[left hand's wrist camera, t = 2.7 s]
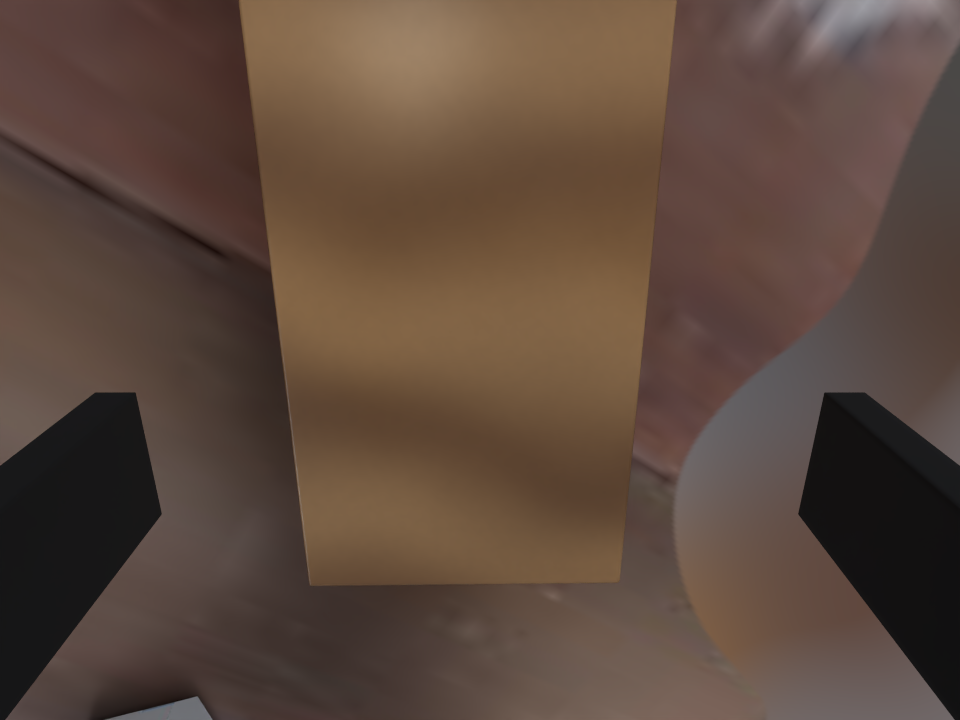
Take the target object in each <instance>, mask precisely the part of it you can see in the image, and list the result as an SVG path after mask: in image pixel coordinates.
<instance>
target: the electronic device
mask: <svg viewBox="0 0 960 720" xmlns="http://www.w3.org/2000/svg"><path fill="white" fill-rule="evenodd" d="M105 720H212V718H211V717H210V715H209V714H208V712H207V710H206V709H205V707H204V706H203V704H202V703H201V701H200V699H199V698H198V696H197V697H193V698H189V699H185V700H181V701H177V702H173V703H169V704H165V705H161V706H157V707H153V708H149V709H145V710H141V711H137V712H133V713H129V714H125V715H121V716H117V717H113V718H109V719H105Z"/></svg>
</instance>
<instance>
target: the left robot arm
mask: <svg viewBox="0 0 960 720" xmlns="http://www.w3.org/2000/svg"><path fill="white" fill-rule="evenodd" d="M161 514H162V513H161V508H160V504H159V499H158V495H157V490H156V485H155V481H154V476H153V471H152V467H151V462H150V458H149V453H148V448H147V444H146V439H145V434H144V430H143V425H142V420H141V416H140V411H139V407H138V402H137V397H136V393H94V394H93V395H92V396H90V397H89V398H88V399H86V400H85V401H84V402H82V403H81V404H80V405H79V406H77V407H76V408H75V409H73V410H72V411H71V412H69V413H68V414H67V415H66V416H64V417H63V418H62V419H60V420H59V421H58V422H57V423H55V424H54V425H53V426H51V427H50V428H49V429H47V430H46V431H45V432H44V433H42V434H41V435H40V436H38V437H37V438H36V439H34V440H33V441H32V442H31V443H29V444H28V445H27V446H25V447H24V448H23V449H21V450H20V451H19V452H18V453H16V454H15V455H14V456H12V457H11V458H10V459H8V460H7V461H6V462H5V463H3V464H2V465H1V466H0V720H5V719H6V718H7V717H8V715H9V714H10V713H11V711H12V710H13V709H14V708H15V706H16V705H17V704H18V702H19V701H20V700H21V698H22V697H23V696H24V694H25V693H26V692H27V690H28V689H29V688H30V687H31V685H32V684H33V683H34V681H35V680H36V679H37V677H38V676H39V675H40V673H41V672H42V671H43V669H44V668H45V667H46V666H47V664H48V663H49V662H50V660H51V659H52V658H53V656H54V655H55V654H56V652H57V651H58V650H59V648H60V647H61V646H62V644H63V643H64V642H65V641H66V639H67V638H68V637H69V635H70V634H71V633H72V631H73V630H74V629H75V627H76V626H77V625H78V623H79V622H80V621H81V620H82V618H83V617H84V616H85V614H86V613H87V612H88V610H89V609H90V608H91V606H92V605H93V604H94V602H95V601H96V600H97V599H98V597H99V596H100V595H101V593H102V592H103V591H104V589H105V588H106V587H107V585H108V584H109V583H110V581H111V580H112V579H113V578H114V576H115V575H116V574H117V572H118V571H119V570H120V568H121V567H122V566H123V564H124V563H125V562H126V560H127V559H128V558H129V556H130V555H131V554H132V553H133V551H134V550H135V549H136V547H137V546H138V545H139V543H140V542H141V541H142V539H143V538H144V537H145V535H146V534H147V533H148V532H149V530H150V529H151V528H152V526H153V525H154V524H155V522H156V521H157V520H158V518H159V517H160V516H161ZM798 514H799V516H800V517H801V518H802V520H803V521H804V522H805V524H806V525H807V526H808V528H809V529H810V530H811V532H812V533H813V534H814V535H815V537H816V538H817V539H818V541H819V542H820V543H821V545H822V546H823V547H824V549H825V550H826V551H827V553H828V554H829V555H830V556H831V558H832V559H833V560H834V562H835V563H836V564H837V566H838V567H839V568H840V570H841V571H842V572H843V574H844V575H845V576H846V578H847V579H848V580H849V581H850V583H851V584H852V585H853V587H854V588H855V589H856V591H857V592H858V593H859V595H860V596H861V597H862V599H863V600H864V601H865V602H866V604H867V605H868V606H869V608H870V609H871V610H872V612H873V613H874V614H875V616H876V617H877V618H878V620H879V621H880V622H881V623H882V625H883V626H884V627H885V629H886V630H887V631H888V633H889V634H890V635H891V637H892V638H893V639H894V641H895V642H896V643H897V644H898V646H899V647H900V648H901V650H902V651H903V652H904V654H905V655H906V656H907V658H908V659H909V660H910V662H911V663H912V664H913V666H914V667H915V668H916V669H917V671H918V672H919V673H920V675H921V676H922V677H923V678H924V680H925V681H926V683H927V684H928V685H929V687H930V688H931V689H932V690H933V692H934V693H935V694H936V696H937V697H938V698H939V700H940V701H941V702H942V704H943V705H944V706H945V707H946V709H947V710H948V711H949V713H950V714H951V715H952V717H953V718H954V719H955V720H960V466H959V465H958V464H957V463H955V462H954V461H953V460H952V459H950V458H949V457H948V456H946V455H945V454H944V453H942V452H941V451H940V450H939V449H937V448H936V447H935V446H933V445H932V444H931V443H929V442H928V441H927V440H926V439H924V438H923V437H922V436H920V435H919V434H918V433H916V432H915V431H914V430H913V429H911V428H910V427H909V426H907V425H906V424H905V423H903V422H902V421H901V420H900V419H898V418H897V417H896V416H894V415H893V414H892V413H891V412H889V411H888V410H887V409H885V408H884V407H883V406H881V405H880V404H879V403H878V402H876V401H875V400H874V399H872V398H871V397H870V396H868V395H867V394H866V393H824V397H823V402H822V407H821V411H820V416H819V421H818V425H817V430H816V434H815V439H814V444H813V448H812V453H811V458H810V462H809V467H808V471H807V476H806V481H805V485H804V490H803V495H802V499H801V504H800V509H799V513H798Z"/></svg>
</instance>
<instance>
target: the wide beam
mask: <svg viewBox="0 0 960 720" xmlns="http://www.w3.org/2000/svg"><path fill="white" fill-rule="evenodd" d="M238 1H239V9H240V18H241V26H242V34H243V42H244V51H245V59H246V67H247V76H248V84H249V92H250V100H251V109H252V117H253V125H254V133H255V142H256V150H257V158H258V166H259V175H260V183H261V191H262V200H263V208H264V216H265V224H266V233H267V241H268V249H269V257H270V266H271V274H272V282H273V290H274V299H275V307H276V315H277V324H278V332H279V340H280V348H281V357H282V365H283V373H284V381H285V390H286V398H287V406H288V414H289V423H290V431H291V439H292V448H293V456H294V464H295V472H296V481H297V489H298V497H299V505H300V514H301V522H302V530H303V538H304V547H305V555H306V563H307V572H308V580H309V585H310V586H369V585H466V584H563V583H618V582H619V581H620V572H621V562H622V552H623V542H624V532H625V521H626V511H627V501H628V491H629V481H630V471H631V461H632V451H633V440H634V430H635V420H636V410H637V400H638V390H639V380H640V369H641V359H642V349H643V339H644V329H645V319H646V309H647V299H648V288H649V278H650V268H651V258H652V248H653V238H654V228H655V218H656V207H657V197H658V187H659V177H660V167H661V157H662V147H663V136H664V126H665V116H666V106H667V96H668V86H669V76H670V66H671V55H672V45H673V35H674V25H675V15H676V5H677V0H238Z"/></svg>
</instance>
